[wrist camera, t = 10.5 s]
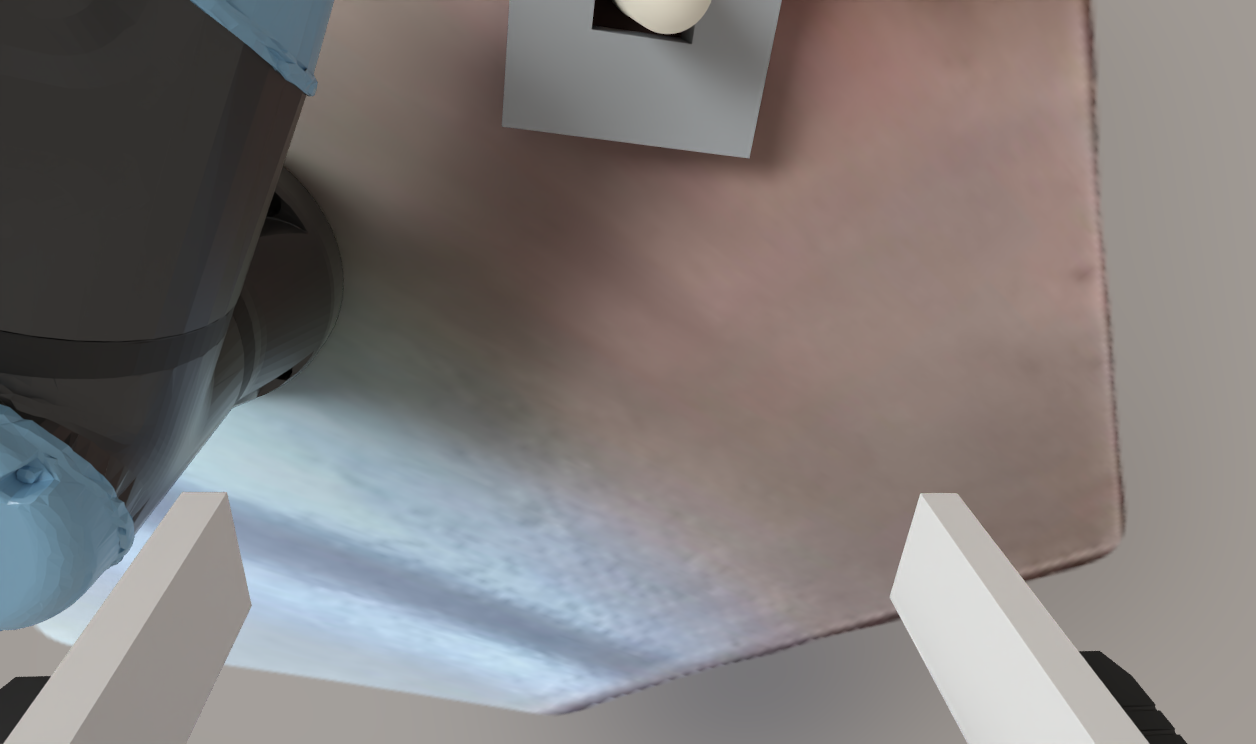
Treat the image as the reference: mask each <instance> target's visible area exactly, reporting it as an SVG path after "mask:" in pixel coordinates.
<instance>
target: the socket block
mask: <svg viewBox="0 0 1256 744" xmlns="http://www.w3.org/2000/svg"><path fill="white" fill-rule="evenodd" d="M781 2H782V0H711V3H710V5H709V7H708V9H707V11H706V12H705V14H704V15H703V17H702V18H701V19H700V20H699V21H698V22H697V23H696V24H695V25H693V26H692V27H690V28H688V29H687V30H685V31H682V32H681V38H677V37H670V36H663V35H657V34H650V33H643V32H636V31H629V30H622V29H616V28H609V27H602V26H595V25H592V22H593V12H594V3H595V0H510V1H509V17H508V33H507V50H506V66H505V83H504V99H503V115H502V127H508V128H516V129H524V130H532V131H539V132H547V133H555V134H563V135H571V136H578V137H586V138H594V139H602V140H609V141H617V142H625V143H633V144H641V145H648V146H656V147H664V148H672V149H679V150H687V151H695V152H703V153H711V154H718V155H726V156H734V157H742V158H749V157H750V153H751V148H752V143H753V138H754V133H755V128H756V123H757V119H758V114H759V109H760V104H761V99H762V94H763V89H764V84H765V80H766V75H767V70H768V65H769V60H770V55H771V50H772V45H773V41H774V36H775V31H776V26H777V21H778V16H779V11H780V7H781Z"/></svg>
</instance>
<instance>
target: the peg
mask: <svg viewBox="0 0 1256 744" xmlns="http://www.w3.org/2000/svg"><path fill="white" fill-rule="evenodd" d="M612 1H613V3H614V5H615V6H616V7H617V8H618V9H619V10H620V11H621V12H623V13H624V14H626V15H627V16H629V17H630V18H632V19H633V20H635V21H636V22H638V23H639V24H641V25H642V26H644V27H645V28H647V29H649V30H651V31H654V32H656V33H661V34H675V33H679V32H682V31H685V30H687V29H688V28H690V27H692V26H693V25H695V24H696V23H697V22H698V21H699V20H700V19H701V18H702V17H703V15H704V14H705V12H706V11H707V9H708V7H709V5H710V3H711V0H612Z"/></svg>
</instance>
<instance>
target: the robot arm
mask: <svg viewBox="0 0 1256 744" xmlns="http://www.w3.org/2000/svg"><path fill="white" fill-rule="evenodd" d="M333 3H334V0H0V631H2V630H16V629H20V628H25V627H29V626H33V625H35V624H38V623H40V622H43V621H45V620H47V619H49V618H52V617H54V616H55V615H57V614H59V613H60V612H62V611H64V610H65V609H67V608H68V607H70V606H71V605H72V604H74V603H75V602H76V601H77V600H78V599H79V598H80V597H81V596H82V595H83V594H84V593H85V592H86V591H87V590H88V589H89V588H90V587H91V586H92V585H93V584H94V582H95V581H96V580H97V579H98V578H99V577H100V576H101V575H102V574H103V572H104V571H105V570H107V569H109V568H110V567H111V566H113V565H116V564H118V563H119V562H120V561H121V560H122V559H123V557H124V555H125V554H126V553H127V552H128V551H129V550H130V548H131V546H132V544H133V541H134V538H135V534H136V533H137V531H138V530H139V529H140V528H141V526H142V525H143V524H144V522H145V521H146V520H147V518H148V517H149V516H150V515H151V513H152V512H153V511H154V509H155V508H156V507H157V505H158V504H159V503H160V502H161V500H162V499H163V498H164V496H165V495H166V494H167V492H168V491H169V490H170V489H171V487H172V486H173V485H174V483H175V482H176V481H177V479H178V478H179V477H180V476H181V474H182V473H183V472H184V470H185V469H186V468H187V467H188V465H189V464H190V463H191V461H192V460H193V459H194V457H195V456H196V455H197V454H198V452H199V451H200V450H201V448H202V447H203V446H204V444H205V443H206V442H207V441H208V439H209V438H210V437H211V435H212V434H213V433H214V431H215V430H216V429H217V428H218V426H219V425H220V424H221V422H222V421H223V420H224V418H225V417H226V416H227V415H228V413H229V412H230V411H231V409H232V408H234V407H236V406H239V405H241V404H243V403H246V402H248V401H250V400H253V399H255V398H256V397H259V396H262V395H264V394H267V393H269V392H271V391H273V390H275V389H277V388H279V387H280V386H282V385H284V384H285V383H287V382H288V381H290V380H291V379H293V378H294V377H295V376H296V375H298V374H299V373H300V372H301V371H302V370H303V369H304V368H305V367H306V366H307V365H308V364H309V363H310V362H311V361H312V359H313V358H314V357H315V355H316V354H317V353H318V351H319V350H320V348H321V347H322V345H323V344H324V342H325V341H326V339H327V338H328V336H329V334H330V333H331V331H332V329H333V327H334V325H335V323H336V320H337V317H338V314H339V311H340V307H341V302H342V295H343V270H342V263H341V258H340V254H339V249H338V246H337V243H336V240H335V237H334V235H333V232H332V230H331V228H330V226H329V224H328V222H327V220H326V218H325V216H324V214H323V213H322V211H321V209H320V208H319V206H318V205H317V203H316V202H315V201H314V199H313V198H312V197H311V195H310V194H309V193H308V191H307V190H306V189H305V188H304V187H303V186H302V184H301V183H300V182H299V181H298V180H297V179H296V178H295V177H294V176H293V175H292V174H291V173H290V172H288V171H287V170H286V169H285V168H284V167H283V164H284V161H285V158H286V155H287V152H288V149H289V146H290V143H291V140H292V137H293V134H294V131H295V128H296V125H297V122H298V119H299V116H300V113H301V110H302V107H303V104H304V101H305V98H306V95H307V96H314V95H315V92H316V90H317V83H318V82H317V80H316V78H315V77H314V71H315V68H316V64H317V60H318V57H319V53H320V50H321V46H322V42H323V39H324V35H325V32H326V28H327V24H328V21H329V17H330V14H331V10H332V7H333ZM890 599H891V601H892V603H893V604H894V606H895V608H896V610H897V612H898V614H899V616H900V618H901V619H902V621H903V623H904V625H905V627H906V629H907V631H908V632H909V634H910V636H911V638H912V640H913V642H914V644H915V646H916V648H917V649H918V651H919V653H920V655H921V657H922V659H923V661H924V662H925V664H926V666H927V668H928V670H929V672H930V674H931V675H932V678H933V679H934V681H935V683H936V685H937V687H938V689H939V691H940V692H941V694H942V696H943V698H944V700H945V702H946V704H947V706H948V707H949V709H950V711H951V713H952V715H953V717H954V719H955V721H956V722H957V724H958V726H959V728H960V730H961V732H962V734H963V736H964V737H965V739H966V741H967V743H968V744H1187V743H1186V742H1185V740H1184V739H1183V738H1182V737H1181V736H1180V735H1177V734H1176V733H1175V728H1174V727H1173V726H1172V725H1171V723H1170V722H1169V721H1168V720H1167V718H1166V717H1165V716H1164V715H1163V713H1162V712H1161V711H1157V710H1156V708H1155V704H1154V702H1153V701H1152V700H1151V699H1150V698H1149V696H1148V695H1147V694H1146V693H1145V691H1144V690H1143V689H1142V688H1141V687H1140V685H1139V684H1138V683H1137V682H1136V680H1135V679H1134V678H1133V677H1132V676H1131V675H1130V674H1129V673H1127V672H1126V671H1125V670H1123V669H1122V668H1121V667H1120V666H1118V665H1117V664H1116V663H1115V662H1113V661H1112V660H1111V659H1109V658H1108V657H1107V656H1106V655H1104V654H1103V653H1102V652H1100V651H1082V652H1081V651H1080V652H1079V651H1078V650H1077V649H1076V647H1075V646H1074V645H1073V643H1072V642H1071V641H1070V640H1069V638H1068V637H1067V636H1066V634H1065V633H1064V632H1063V630H1062V629H1061V628H1060V627H1059V625H1058V624H1057V623H1056V621H1055V620H1054V619H1053V617H1052V616H1051V615H1050V614H1049V612H1048V611H1047V610H1046V608H1045V607H1044V606H1043V604H1042V603H1041V602H1040V601H1039V599H1038V598H1037V597H1036V595H1035V594H1034V593H1033V591H1032V590H1031V589H1030V587H1029V586H1028V585H1027V584H1026V582H1025V581H1024V580H1023V578H1022V577H1021V576H1020V574H1019V573H1018V572H1017V571H1016V569H1015V568H1014V567H1013V565H1012V564H1011V563H1010V561H1009V560H1008V559H1007V558H1006V556H1005V555H1004V554H1003V552H1002V551H1001V550H1000V548H999V547H998V546H997V545H996V543H995V542H994V541H993V539H992V538H991V537H990V535H989V534H988V533H987V531H986V530H985V529H984V528H983V526H982V525H981V524H980V522H979V521H978V520H977V518H976V517H975V516H974V515H973V513H972V512H971V511H970V509H969V508H968V507H967V505H966V504H965V503H964V502H963V500H962V499H961V498H960V496H959V495H958V494H957V493H920V497H919V500H918V503H917V507H916V510H915V513H914V517H913V520H912V523H911V527H910V530H909V534H908V537H907V540H906V544H905V547H904V550H903V554H902V557H901V561H900V564H899V567H898V571H897V574H896V577H895V581H894V584H893V587H892V591H891V594H890ZM251 606H252V605H251V601H250V596H249V592H248V587H247V583H246V578H245V573H244V569H243V564H242V560H241V555H240V550H239V546H238V541H237V537H236V532H235V527H234V523H233V518H232V514H231V509H230V504H229V500H228V495H227V492H182V493H181V494H180V496H179V497H178V499H177V500H176V501H175V503H174V504H173V506H172V507H171V508H170V510H169V511H168V513H167V514H166V515H165V517H164V518H163V520H162V521H161V523H160V524H159V525H158V527H157V528H156V530H155V531H154V532H153V534H152V535H151V537H150V538H149V539H148V541H147V542H146V544H145V545H144V546H143V548H142V549H141V551H140V552H139V553H138V555H137V556H136V558H135V559H134V561H133V562H132V563H131V565H130V566H129V568H128V569H127V570H126V572H125V573H124V575H123V576H122V577H121V579H120V580H119V582H118V583H117V584H116V586H115V587H114V589H113V590H112V591H111V593H110V594H109V596H108V597H107V599H106V600H105V601H104V603H103V604H102V606H101V607H100V608H99V610H98V611H97V613H96V614H95V615H94V617H93V618H92V620H91V621H90V622H89V624H88V625H87V627H86V628H85V629H84V631H83V632H82V634H81V635H80V637H79V638H78V639H77V641H76V642H75V644H74V645H73V646H72V648H71V649H70V651H69V652H68V653H67V655H66V656H65V658H64V659H63V661H62V662H61V663H60V665H59V666H58V668H57V669H56V670H55V672H54V673H53V675H52V676H44V677H43V676H38V677H15V678H14V679H13V680H11V681H10V682H9V683H8V684H6V685H5V686H4V687H3V688H1V689H0V744H186V743H187V741H188V739H189V737H190V735H191V732H192V730H193V728H194V726H195V724H196V722H197V720H198V718H199V716H200V714H201V711H202V709H203V707H204V705H205V703H206V701H207V698H208V697H209V695H210V692H211V690H212V688H213V686H214V684H215V682H216V679H217V677H218V676H219V674H220V671H221V669H222V667H223V665H224V663H225V661H226V659H227V657H228V655H229V652H230V650H231V648H232V646H233V644H234V642H235V640H236V638H237V636H238V633H239V631H240V629H241V627H242V625H243V623H244V621H245V619H246V617H247V615H248V612H249V610H250V608H251Z"/></svg>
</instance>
